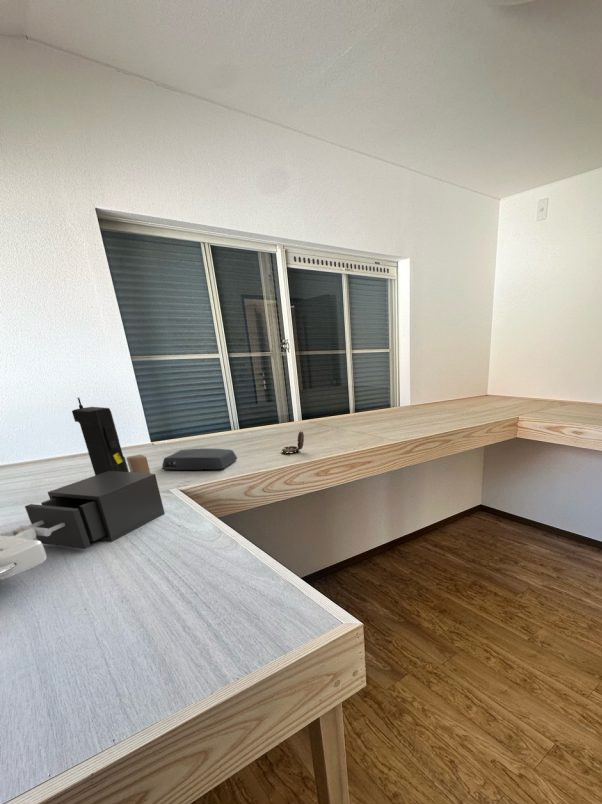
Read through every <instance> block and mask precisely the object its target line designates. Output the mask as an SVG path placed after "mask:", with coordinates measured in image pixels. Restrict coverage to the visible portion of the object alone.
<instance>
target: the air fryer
mask: <svg viewBox="0 0 602 804" xmlns="http://www.w3.org/2000/svg"><path fill="white" fill-rule="evenodd" d="M47 495H48V498H49V500H50V499H53V498H55V497H68V498H79V499H90V500H97V503H98V506H99V509H100V512H101V515H102V519H103V522H104V525H105V528H106V532H107V535H105V536H103V537H101V538H99V539H98V540H97V541H104V542H105V541H106V542H114V541H116V540H119V539H120V538H122V537H123V536H125V535H128V534H129V533H131V532H133V531H135V530H137V529H138V528H140V527H143V526H144V525H146V524H148V523H150V522H152V521H154V520H155V519H158V518H159V517H161V516H162V515H165V514H166V513H165V509H164V505H163V501H162V500H163V499H162V497H161V493H160V488H159V485H158V480H157V476H156V473H151V472H150V473H135V472H130V471H129V472H120V471H107V472H104V473H101V474H98V475H95V474H94V475H92V476H90V477H87V478H84V479H81V480H78V481H76V482H73V483H70V484H67V485H64V486H61V487H59V488H56V489H53V490H50V491H47Z"/></svg>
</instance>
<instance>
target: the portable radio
mask: <svg viewBox="0 0 602 804" xmlns="http://www.w3.org/2000/svg"><path fill="white" fill-rule="evenodd" d="M77 401H78V408H75V409H73V410H71V413H72V417H73V420H74V422H76V423H78V424H79V426H80V428H81V432H82V436H83V440H84V442H85V446H86V450H87V453H88V456H89V459H90V462H91V466H92V469H93V473H94V476H95V475H98V474H101V473H104V472H107V471H120V472H130V469H129V466H128V463H127V460H126V457H125V456H124V454H123V451H122V447H121V443H120V438H119V435H118V432H117V429H116V424H115V421H114V418H113V414H112V410H111V409H110V407H102V406H101V407H100V406H87V407H84V406H83V404H82V402H81V398H80V397H77Z"/></svg>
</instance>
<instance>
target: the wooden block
mask: <svg viewBox="0 0 602 804" xmlns="http://www.w3.org/2000/svg"><path fill="white" fill-rule="evenodd" d="M126 462H127V466H128V470H129V472H135V473H150V474H151V471H150V467H149V466H150V465H149V462H148V458H147V456H146V455H144V454H136V455H130V456H127V457H126Z"/></svg>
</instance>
